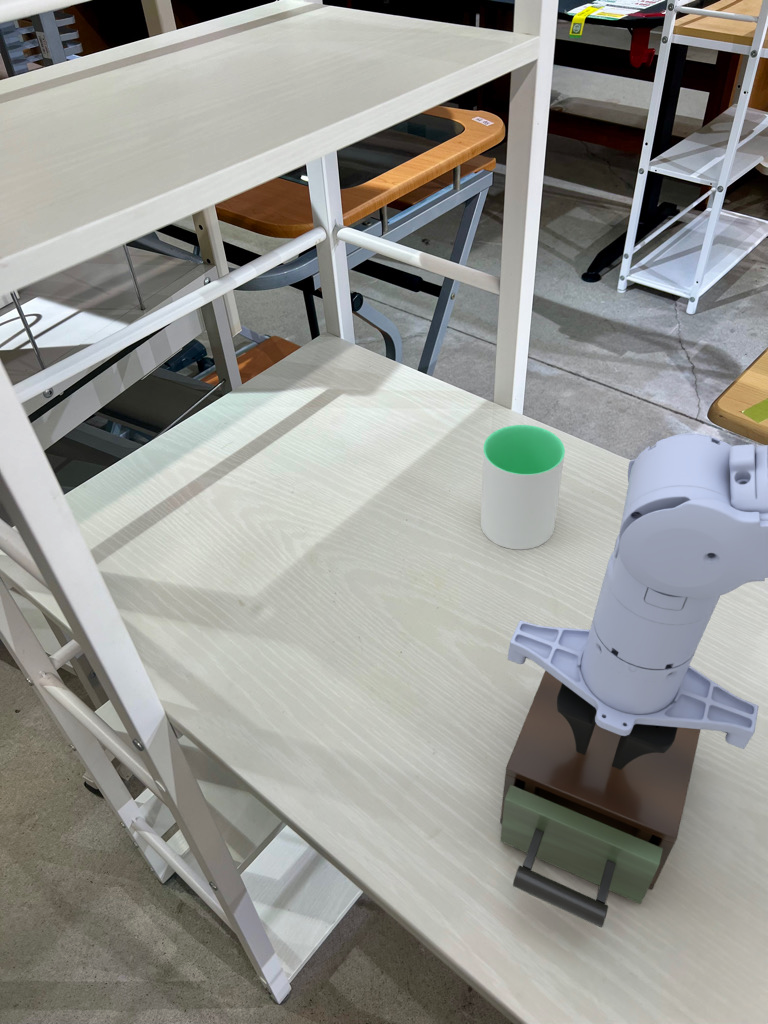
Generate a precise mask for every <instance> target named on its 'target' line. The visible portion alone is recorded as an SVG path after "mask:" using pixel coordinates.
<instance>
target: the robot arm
mask: <svg viewBox="0 0 768 1024" xmlns="http://www.w3.org/2000/svg"><path fill="white" fill-rule="evenodd" d="M627 467H628V468H627V483H628V484H627V489H626V495H625V501H624V506H623V512H622V518H621V523H620V528H619V533H618V534H617V535H616V536H617V537H616V540H615V543H614V548H613V551H612V553H611V555H610V557H609V559H608V561H607V565H606V568H605V572H604V576H603V579H602V583H601V587H600V591H599V594H598V598H597V601H596V605H595V608H594V614H593V616H592V621H591V625H590V628H589V629H587V628H585V629H584V628H573V627H559V626H558V627H557V626H547V625H540V624H535V623H531V622H528V621H525V620H519V621H518V623H517V625H516V628H515V630H514V632H513V634H512V637H511V639H510V641H509V646H508V651H507V657H506V658H507V659H506V660H508V661H510V662H513V663H515V664H518V665H524V664H525V662H526V660H529V661H532V662H533V663H534V664H536V665H537V666H539V667H540V668H542V669H543V670H544V671H545V670H546V671H547V672H548V673H550V674H551V675H552V676H554V677H555V678H556V679H558V680H559V681H560V682H562V685H561V688H560V691H559V693H558V696H557V710H558V712H559V713H560V714H562V715H563V716H564V717H565V719H566V720H567V721H568V723H569V724H570V726H571V729H572V731H573V734H574V738H575V743H576V751H577V752H578V753H581V754H583V755H585V754H586V751H587V748H588V745H589V742H590V739H591V736H592V733H593V730H594V727H595V724H597V725H598V726H599V727H601V728H603V729H606V730H608V731H611V732H613V733H616V734H618V735H621V737H620V740H619V743H618V746H617V749H616V753H615V756H614V760H613V763H612V767H615V768H617V769H620V770H621V769H623V768H624V767H625V766H626V765H627V764H628V763H629V762H631V761H632V760H634V759H636V758H637V757H639V756H642V755H644V754H648V753H665V752H666V751H667V750H668V749H669V748H670V747H671V746H672V744H673V742H674V740H675V737H676V732H677V728H678V727H680V728H692V729H701V730H704V731H705V730H706V731H715V732H723V733H724V734H725V738H724V739H725V741H726V743H727V744H728V745H731V746H734V747H737V748H739V749H741V750H744V749H746V748H747V745H748V744H749V742H750V740H752V737H753V736H754V734H755V731H756V725H757V719H758V713H759V704H755V703H753V702H752V701H748V700H745V699H744V698H741V697H739V696H737V695H735V694H734V693H732V692H730V691H729V690H728V689H726V688H724V687H723V686H722V685H720V684H718V683H717V682H715V681H713V680H712V679H711V678H709V677H707V676H706V675H704V674H703V673H701V672H700V671H698V670H697V669H695V668H694V667H692V666H691V663H692V660H693V658H694V656H695V654H696V651H697V649H698V647H699V645H700V642H701V641H702V638H703V636H704V633H705V631H706V629H707V627H708V624H709V623H710V620H711V618H712V615H713V613H714V611H715V609H716V607H717V605H718V602H719V601H720V598H721V596H723V595H726V594H729V593H730V592H733V591H735V590H736V589H738V588H739V587H741V586H743V585H745V584H748V583H753V582H754V583H755V582H765V581H766V579H768V444H763V445H757V446H756V445H755V444H754V443H750V444H738V445H737V444H736V445H731V444H729V443H727V442H726V441H724V440H721V439H719V438H717V437H715V436H712V435H708V434H703V433H696V432H688V433H679V434H674V435H671V436H668V437H666V438H662V439H660V440H658V441H655V444H654V445H653V446H651V445H648V446H646V448H645V449H643V450H642V451H641V452H640V453H639V454H638V456H637V457H636V458H635V459H634V458H633V459H630V460H629V462H628V466H627Z"/></svg>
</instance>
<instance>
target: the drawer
mask: <svg viewBox="0 0 768 1024" xmlns="http://www.w3.org/2000/svg"><path fill="white" fill-rule="evenodd" d="M651 837H652V834H650V833H648V832H645V831H643V830H640V829H638V828H635V827H633V826H631V825H628V824H626V823H623V822H621V821H619V820H616V819H614V818H611V817H609V816H606V815H604V814H602V813H599V812H597V811H594V810H592V809H590V808H587V807H585V806H582V805H580V804H578V803H575V802H573V801H570V800H568V799H565V798H563V797H561V796H558V795H556V794H553V793H551V792H549V791H546V790H544V789H541V788H539V787H536V786H534V785H532V784H529V783H527V782H525V786H524V790H522V789H520V788H517V787H515V786H513V785H510V787H509V790H508V792H507V795H506V798H505V803H504V812H503V821H502V823H501V831H500V840H499V841H500V842H502V843H504V844H506V845H508V846H511V847H513V848H515V849H517V850H520V851H521V852H523V853H526V855H525V858H524V860H523V863H522V865H519V866H518V867H517V870H516V873H515V875H514V877H513V882H512V887H513V888H515V889H517V890H520V891H521V892H524V893H526V894H527V895H530V896H533V897H535V898H537V899H539V900H541V901H543V902H546V903H547V904H549V905H552V906H554V907H556V908H558V909H560V910H562V911H564V912H567V913H568V914H571V915H573V916H575V917H577V918H579V919H581V920H584V921H586V922H587V923H589V924H592V925H594V926H597V927H598V928H603V927H604V924H605V920H606V917H607V913H608V909H609V905H608V904H606V903H607V899H608V895H609V891H610V892H613V893H614V894H617V895H619V896H622V897H624V898H626V899H628V900H631V901H633V902H634V903H637V904H639V905H641V904H642V902H643V900H644V898H645V895H646V894H647V892H648V890H649V885H650V883H651V881H652V879H653V877H654V875H655V873H656V871H657V869H658V866H659V864H660V860H661V855H662V851H663V848H661V847H658V846H656V845H654V844H651V843H649V841H650V839H651ZM536 858H537V859H539V860H542V861H544V862H546V863H548V864H551V865H553V866H555V867H557V868H560V869H562V870H564V871H566V872H568V873H570V874H573V875H575V876H577V877H579V878H582V879H584V880H586V881H589V882H590V883H592V884H595V885H597V886H599V888H598V889H597V894H596V897H595V898H593V897H591V896H588V895H586V894H584V893H581V892H579V891H577V890H575V889H573V888H571V887H569V886H566V885H565V884H563V883H560V882H558V881H556V880H553V879H551V878H549V877H546V876H544V875H542V874H540V873H538V872H535V871H534V870H533V866H534V863H535V861H536Z"/></svg>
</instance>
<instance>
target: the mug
mask: <svg viewBox="0 0 768 1024" xmlns="http://www.w3.org/2000/svg"><path fill="white" fill-rule="evenodd" d="M482 449H483V450H482V452H483V453H482V476H481V501H480V528H481V530H482V532H483V534H484V536H485V537H486V538H487V539H488V540H489V541H491V542H492V543H494V544H495V545H498V546H500V547H503V548H506V549H511V550H530V549H534V548H537V547H539V546H542V545H543V544H545V543H547V541H549V540H550V539H551V538H552V537H553V534H554V533H555V527H556V519H557V514H558V513H557V512H558V507H559V505H558V504H559V497H560V489H561V483H562V476H563V469H564V460H565V454H566V453H565V452H566V449H565V446H564V443H563V442H562V440H561V439H560V438H559V437H558V436H557V435H556V434H555V433H553V432H552V431H549V430H547V429H545V428H542V427H539V426H536V425H530V424H513V425H510V426H509V425H508V426H504V427H501V428H499V429H497V430H495V431H493V432H492V433H491V434H489V436H488V437H487V438H485V441H484V444H483V447H482Z"/></svg>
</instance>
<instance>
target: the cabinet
mask: <svg viewBox="0 0 768 1024" xmlns="http://www.w3.org/2000/svg"><path fill="white" fill-rule="evenodd" d="M541 677H542V678H541V680H540V682H539V685H538V688H537V690H536V692H535V695H534V698H533V700H532V702H531V705H530V707H529V710H528V711H527V715H526V717H525V720H524V722H523V725H522V727H521V730H520V732H519V734H518V737H517V740H516V742H515V744H514V746H513V750H512V752H511V754H510V756H509V759H508V762H507V765H506V767H505V772H504V782H503V790H502V791H503V792H502V799H501V800H502V801H501V808H500V809H501V810H500V819H499V824H502V821H503V812H504V803H505V798H506V795H507V792H508V790H509V787H510V785H513V786H515V787H517V788H520V789H522V790H524V786H525V782H527V783H529V784H532V785H534V786H536V787H539V788H541V789H544V790H546V791H549V792H551V793H553V794H556V795H558V796H561V797H563V798H565V799H568V800H570V801H573V802H575V803H578V804H580V805H582V806H585V807H587V808H590V809H592V810H594V811H597V812H599V813H602V814H604V815H606V816H609V817H611V818H614V819H616V820H619V821H621V822H623V823H626V824H628V825H631V826H633V827H635V828H638V829H640V830H643V831H645V832H648V833H650V834H652V837H651V839H650V841H649V843H651V844H654V845H656V846H658V847H661V848H663V851H662V855H661V860H660V864H659V866H658V869H657V871H656V873H655V875H654V877H653V879H652V881H651V883H650V885H649V888H648V890H654V887H655V885H656V883H657V881H658V879H659V877H660V875H661V873H662V870H663V869H664V867H665V864H666V863H667V860H668V858H669V856H670V855H671V853H672V851H673V848H674V847H675V844H676V842H677V840H678V837H679V831H680V828H681V827H680V826H681V822H682V817H683V813H684V809H685V804H686V799H687V794H688V790H689V786H690V781H691V775H692V771H693V767H694V763H695V758H696V753H697V748H698V744H699V740H700V735H701V730H702V729H692V728H680V727H678V728H677V732H676V737H675V740H674V742H673V744H672V746H671V747H670V748H669V749H668V750H667V751H666V752H665V753H648V754H644V755H642V756H639V757H637V758H636V759H634V760H632V761H631V762H629V763H628V764H627V765H626V766H625V767H624V768H623V769H621V770H620V769H617V768H615V767H612V763H613V760H614V756H615V753H616V749H617V746H618V743H619V740H620V737H621V735H618V734H616V733H613V732H611V731H608V730H606V729H603V728H601V727H599V726H598V725H597V724H595V727H594V730H593V733H592V736H591V739H590V742H589V745H588V748H587V751H586V754H585V755H583V754H581V753H578V752H577V751H576V743H575V738H574V734H573V731H572V729H571V726H570V724H569V723H568V721H567V720H566V719H565V717H564V716H563V715H562V714H560V713H559V712H558V710H557V696H558V693H559V691H560V688H561V685H562V682H560V681H559V680H558V679H556V678H555V677H554V676H552V675H551V674H550V673H548V672H547V671H546V670H544V673H543V675H542V676H541Z"/></svg>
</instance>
